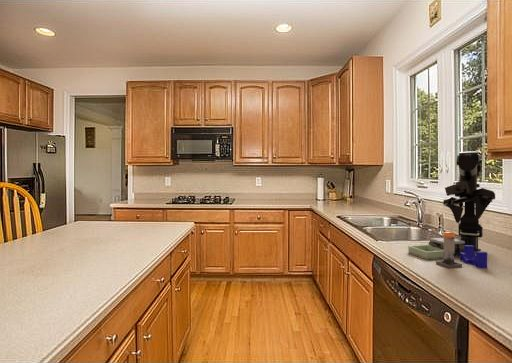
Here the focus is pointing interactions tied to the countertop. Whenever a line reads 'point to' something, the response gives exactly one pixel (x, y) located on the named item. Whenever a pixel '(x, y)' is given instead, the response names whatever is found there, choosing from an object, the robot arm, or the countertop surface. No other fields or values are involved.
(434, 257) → the tray
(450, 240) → the pin
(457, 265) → the pin collar
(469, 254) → the cable clip
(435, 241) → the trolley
